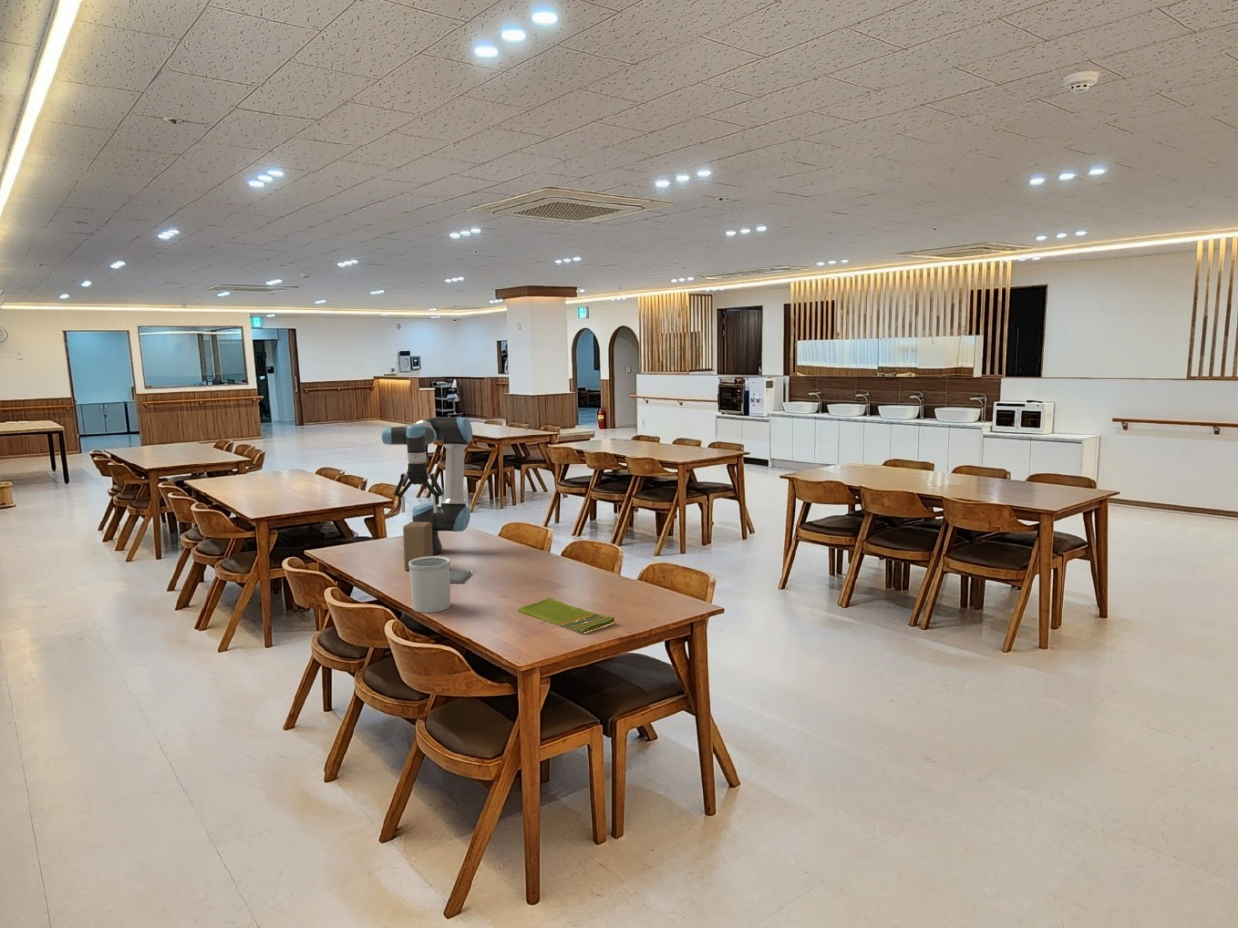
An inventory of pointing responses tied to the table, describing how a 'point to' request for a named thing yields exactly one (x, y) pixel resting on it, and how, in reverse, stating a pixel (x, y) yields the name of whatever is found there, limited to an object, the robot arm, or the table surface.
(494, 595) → the table surface
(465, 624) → the table surface
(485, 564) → the table surface
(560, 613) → the dish towel
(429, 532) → the wooden block
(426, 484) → the robot arm
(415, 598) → the utensil holder
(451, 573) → the plate
